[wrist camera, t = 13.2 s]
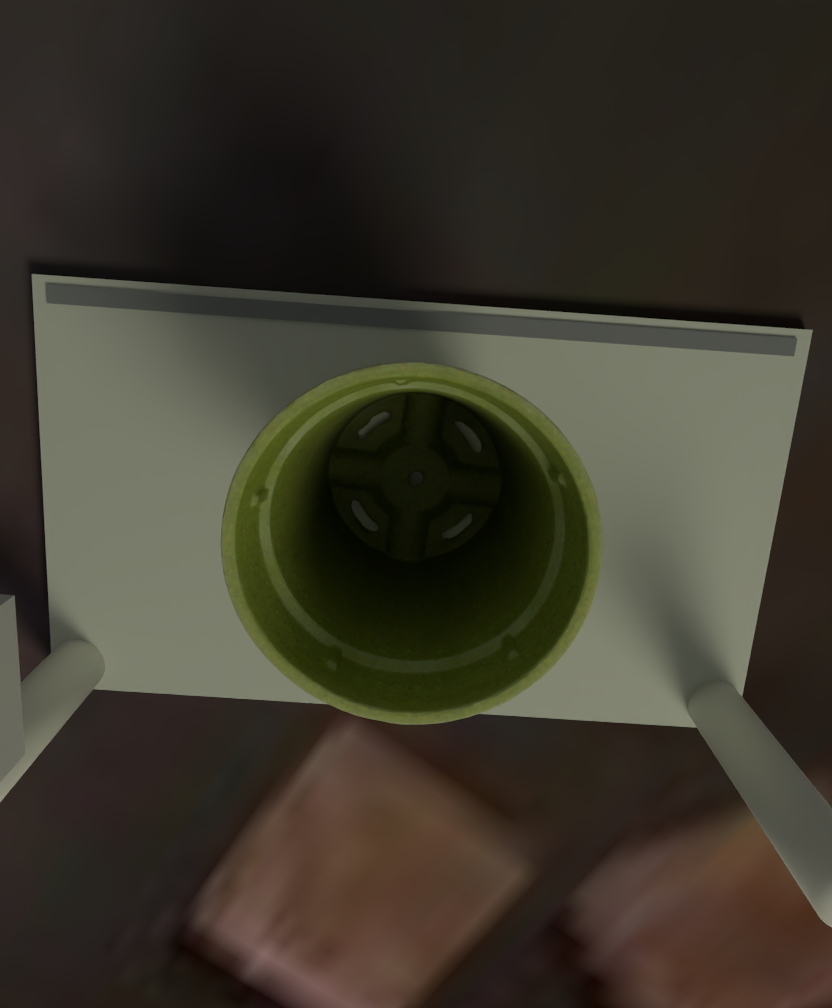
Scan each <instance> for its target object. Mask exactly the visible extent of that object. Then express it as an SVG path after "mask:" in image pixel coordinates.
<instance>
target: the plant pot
mask: <svg viewBox="0 0 832 1008" xmlns="http://www.w3.org/2000/svg"><path fill="white" fill-rule="evenodd" d="M382 412H387V413H389V414H390V419H389V420H387V421H385V422H384V423H382V424H381V425H379V426H378V427H376V428H375V429H374V430H373V431H372V432H370V433H369V434H368V435H367V437H366V438H365V439H364V440H363V439H359V438H358V437H359V436H358V432H359V430H361V429H362V428H364V427H365V426H366V425H368V424H369V422H370V420H371V419H372V418H373V417H374V416H376V415H378V414H380V413H382ZM455 421H457V422H462V423H464V424H465V425H466V426H467V427H469V428H470V429H471V430H472V431H473V432H474V433H475V434H476V436H477V438H478V439H479V441H480V442H481V451H480V452H479V453H475V452H474V451H473V450H472V448H471V446H470V444H469V443H468V441H467V439H466V438H465V437H464V435H463V434H462V433H461V432H460V431H459V430H458V428H457V427H456V426H455V425H454V422H455ZM413 472H420V473H421V474H422V475H423V481H422V483H421V484H420V485H416V486H412V485H411V484H410V483H409V476H410V475H411V474H412V473H413ZM353 500H357V501H359V503H360V505H361V506H362V508H363V509H364V511H365V512H366V514H367V515H368V516H369V517H370V518H371V519H372V520H373V521H374V522H376V524H377V525H378V530H377V531H371V530H369V529H367V528H366V527H364V526H363V525H362V523H361V522H360V520H359V519H358V518H357V517H356V516H355V514H354V512H353V510H352V507H351V504H352V501H353ZM469 513H470V514H472V522H471V523H470V524H469V525H468V526H467V527H466V528H465V529H463V530H462V531H461V532H460V533H459V534H457V535H456V536H454V537H452V538H450V539H449V538H445V539H444V538H443V537H442V536H441V533H442V532H444V531H446V530H447V529H449V528H451V527H453V526H454V525H456V524H457V523H458V522H459V521H461V520H462V519H463V518H464V517H465V516H466V515H467V514H469ZM220 546H221V557H222V566H223V573H224V578H225V583H226V586H227V589H228V593H229V596H230V598H231V601H232V604H233V606H234V609H235V611H236V613H237V616H238V617H239V619H240V621H241V623H242V625H243V627H244V628H245V630H246V632H247V633H248V635H249V636H250V638H251V639H252V641H253V642H254V644H255V645H256V646H257V647H258V648H259V650H260V651H261V652H262V653H263V655H264V656H265V657H266V658H267V659H268V660H269V661H270V662H271V663H272V664H273V665H274V666H275V667H276V668H277V669H278V670H279V671H280V672H281V673H282V674H283V675H284V676H285V677H286V678H288V679H289V680H290V681H291V682H293V683H294V684H295V685H297V686H298V687H299V688H301V689H302V690H304V691H305V692H306V693H308V694H310V695H312V696H313V697H315V698H317V699H319V700H321V701H322V702H325V703H327V704H329V705H331V706H334V707H336V708H338V709H340V710H342V711H346V712H349V713H351V714H354V715H357V716H360V717H364V718H369V719H374V720H379V721H384V722H389V723H395V724H434V723H444V722H449V721H454V720H458V719H462V718H467V717H470V716H473V715H476V714H479V713H482V712H485V711H488V710H491V709H493V708H495V707H497V706H500V705H502V704H504V703H506V702H508V701H510V700H511V699H513V698H514V697H516V696H517V695H519V694H520V693H522V692H523V691H525V690H526V689H528V688H529V687H530V686H532V685H533V684H534V683H535V682H537V681H538V680H540V679H541V678H542V677H543V676H544V675H545V674H546V673H547V672H548V671H549V670H550V669H551V668H552V667H553V666H554V665H555V664H556V663H557V662H558V661H559V660H560V658H561V657H562V656H563V655H564V653H565V652H566V651H567V649H568V648H569V647H570V645H571V644H572V642H573V641H574V639H575V638H576V636H577V634H578V633H579V631H580V629H581V627H582V626H583V624H584V622H585V619H586V617H587V616H588V613H589V611H590V608H591V605H592V603H593V600H594V597H595V592H596V589H597V586H598V582H599V576H600V570H601V563H602V552H603V528H602V520H601V515H600V510H599V506H598V501H597V497H596V494H595V491H594V488H593V486H592V483H591V480H590V478H589V476H588V474H587V472H586V469H585V467H584V465H583V464H582V461H581V459H580V457H579V456H578V454H577V453H576V451H575V450H574V448H573V446H572V445H571V444H570V442H569V441H568V439H567V438H566V437H565V435H564V434H563V433H562V432H561V431H560V429H559V428H558V427H557V426H556V425H555V424H554V423H553V422H552V421H551V420H550V419H549V418H548V417H547V416H546V415H545V414H544V413H543V412H542V411H541V410H540V409H539V408H537V407H536V406H535V405H533V404H532V403H531V402H529V401H528V400H527V399H525V398H524V397H522V396H521V395H519V394H518V393H516V392H515V391H513V390H511V389H510V388H508V387H506V386H504V385H502V384H500V383H498V382H496V381H494V380H492V379H489V378H487V377H485V376H482V375H480V374H477V373H474V372H471V371H468V370H465V369H462V368H457V367H452V366H448V365H442V364H436V363H426V362H394V363H384V364H376V365H370V366H366V367H362V368H358V369H354V370H351V371H348V372H345V373H342V374H340V375H337V376H335V377H332V378H330V379H328V380H326V381H324V382H321V383H319V384H318V385H316V386H314V387H312V388H311V389H309V390H307V391H306V392H304V393H303V394H301V395H300V396H298V397H297V398H295V399H294V400H293V401H292V402H290V403H289V404H288V405H287V406H285V407H284V408H283V409H282V410H281V411H280V412H278V413H277V414H276V415H275V416H274V417H273V418H272V419H271V420H270V421H269V422H268V423H267V424H266V425H265V427H264V428H263V429H262V430H261V431H260V433H259V434H258V435H257V437H256V438H255V439H254V441H253V442H252V443H251V445H250V446H249V448H248V449H247V451H246V453H245V454H244V456H243V458H242V460H241V462H240V463H239V465H238V467H237V469H236V471H235V474H234V476H233V478H232V481H231V484H230V487H229V491H228V494H227V498H226V502H225V507H224V512H223V519H222V526H221V542H220Z"/></svg>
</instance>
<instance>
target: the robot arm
mask: <svg viewBox="0 0 832 1008" xmlns="http://www.w3.org/2000/svg"><path fill="white" fill-rule="evenodd" d="M24 755H25V744H24V729H23V714H22V699H21V684H20V669H19V654H18V639H17V624H16V609H15V595H2V594H0V782H1V781H2V780H3V779H4V778H5V776H6V775H7V774H8V773H9V772H10V771H11V770H12V768H13V767H14V766H15V765H16V764H17V763H18V762H19V761H20V759H21V758H22V757H23V756H24Z"/></svg>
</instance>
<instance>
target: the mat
mask: <svg viewBox="0 0 832 1008" xmlns="http://www.w3.org/2000/svg"><path fill="white" fill-rule="evenodd" d="M32 291H33V311H34V330H35V349H36V369H37V388H38V407H39V427H40V446H41V466H42V485H43V504H44V524H45V543H46V563H47V582H48V601H49V621H50V640H51V654H49V655H48V656H47V657H46V658H45V659H44V660H43V661H42V662H41V663H40V664H39V665H38V666H37V667H36V668H35V669H34V670H33V671H32V672H31V673H30V674H29V675H28V676H27V677H26V678H25V679H24V680H23V681H22V682H21V683H20V684H21V699H22V714H23V729H24V744H25V755H24V756H23V757H22V758H21V759H20V761H19V762H18V763H17V764H16V765H15V766H14V767H13V768H12V770H11V771H10V772H9V773H8V774H7V775H6V776H5V778H4V779H3V780H2V781H1V782H0V802H1V801H2V799H3V798H4V797H5V796H6V795H7V793H8V792H9V791H10V790H11V788H12V787H13V786H14V785H15V784H16V782H17V781H18V780H19V779H20V777H21V776H22V775H23V774H24V773H25V771H26V770H27V769H28V768H29V767H30V765H31V764H32V763H33V762H34V760H35V759H36V758H37V757H38V756H39V754H40V753H41V752H42V751H43V749H44V748H45V747H46V746H47V745H48V743H49V742H50V741H51V740H52V738H53V737H54V736H55V735H56V734H57V732H58V731H59V730H60V729H61V727H62V726H63V725H64V724H65V723H66V721H67V720H68V719H69V718H70V717H71V715H72V714H73V713H74V712H75V710H76V709H77V708H78V707H79V706H80V704H81V703H82V702H83V701H84V699H85V698H86V697H87V696H88V695H89V693H90V692H91V691H92V690H93V689H99V690H115V691H130V692H146V693H162V694H178V695H193V696H209V697H225V698H241V699H256V700H272V701H288V702H303V703H319V704H327V703H325V702H322V701H321V700H319V699H317V698H315V697H313V696H312V695H310V694H308V693H306V692H305V691H304V690H302V689H301V688H299V687H298V686H297V685H295V684H294V683H293V682H291V681H290V680H289V679H288V678H286V677H285V676H284V675H283V674H282V673H281V672H280V671H279V670H278V669H277V668H276V667H275V666H274V665H273V664H272V663H271V662H270V661H269V660H268V659H267V658H266V657H265V656H264V655H263V653H262V652H261V651H260V650H259V648H258V647H257V646H256V645H255V644H254V642H253V641H252V639H251V638H250V636H249V635H248V633H247V632H246V630H245V628H244V627H243V625H242V623H241V621H240V619H239V617H238V616H237V613H236V611H235V609H234V606H233V604H232V601H231V598H230V596H229V593H228V589H227V586H226V583H225V578H224V573H223V566H222V557H221V546H220V542H221V526H222V519H223V512H224V507H225V502H226V498H227V494H228V491H229V487H230V484H231V481H232V478H233V476H234V474H235V471H236V469H237V467H238V465H239V463H240V462H241V460H242V458H243V456H244V454H245V453H246V451H247V449H248V448H249V446H250V445H251V443H252V442H253V441H254V439H255V438H256V437H257V435H258V434H259V433H260V431H261V430H262V429H263V428H264V427H265V425H266V424H267V423H268V422H269V421H270V420H271V419H272V418H273V417H274V416H275V415H276V414H277V413H278V412H280V411H281V410H282V409H283V408H284V407H285V406H287V405H288V404H289V403H290V402H292V401H293V400H294V399H295V398H297V397H298V396H300V395H301V394H303V393H304V392H306V391H307V390H309V389H311V388H312V387H314V386H316V385H318V384H319V383H321V382H324V381H326V380H328V379H330V378H332V377H335V376H337V375H340V374H342V373H345V372H348V371H351V370H354V369H358V368H362V367H366V366H370V365H376V364H384V363H394V362H426V363H436V364H442V365H448V366H452V367H457V368H462V369H465V370H468V371H471V372H474V373H477V374H480V375H482V376H485V377H487V378H489V379H492V380H494V381H496V382H498V383H500V384H502V385H504V386H506V387H508V388H510V389H511V390H513V391H515V392H516V393H518V394H519V395H521V396H522V397H524V398H525V399H527V400H528V401H529V402H531V403H532V404H533V405H535V406H536V407H537V408H539V409H540V410H541V411H542V412H543V413H544V414H545V415H546V416H547V417H548V418H549V419H550V420H551V421H552V422H553V423H554V424H555V425H556V426H557V427H558V428H559V429H560V431H561V432H562V433H563V434H564V435H565V437H566V438H567V439H568V441H569V442H570V444H571V445H572V446H573V448H574V450H575V451H576V453H577V454H578V456H579V457H580V459H581V461H582V464H583V465H584V467H585V469H586V472H587V474H588V476H589V478H590V480H591V483H592V486H593V488H594V491H595V494H596V497H597V501H598V506H599V510H600V515H601V520H602V528H603V552H602V563H601V570H600V576H599V582H598V586H597V589H596V592H595V597H594V600H593V603H592V605H591V608H590V611H589V613H588V616H587V617H586V619H585V622H584V624H583V626H582V627H581V629H580V631H579V633H578V634H577V636H576V638H575V639H574V641H573V642H572V644H571V645H570V647H569V648H568V649H567V651H566V652H565V653H564V655H563V656H562V657H561V658H560V660H559V661H558V662H557V663H556V664H555V665H554V666H553V667H552V668H551V669H550V670H549V671H548V672H547V673H546V674H545V675H544V676H543V677H542V678H541V679H540V680H538V681H537V682H535V683H534V684H533V685H532V686H530V687H529V688H528V689H526V690H525V691H523V692H522V693H520V694H519V695H517V696H516V697H514V698H513V699H511V700H510V701H508V702H506V703H504V704H502V705H500V706H497V707H495V708H493V709H491V710H488V711H485V712H482V713H479V714H492V715H508V716H524V717H540V718H555V719H571V720H587V721H603V722H618V723H634V724H650V725H666V726H681V727H697V728H698V730H699V731H700V733H701V734H702V736H703V738H704V739H705V741H706V742H707V744H708V745H709V747H710V748H711V750H712V751H713V753H714V755H715V756H716V758H717V759H718V761H719V762H720V764H721V765H722V767H723V769H724V770H725V772H726V773H727V775H728V776H729V778H730V779H731V781H732V783H733V784H734V786H735V787H736V789H737V790H738V792H739V793H740V795H741V796H742V798H743V800H744V801H745V803H746V804H747V806H748V807H749V809H750V810H751V812H752V814H753V815H754V817H755V818H756V820H757V821H758V823H759V824H760V826H761V828H762V829H763V831H764V832H765V834H766V835H767V837H768V838H769V840H770V841H771V843H772V845H773V846H774V848H775V849H776V851H777V852H778V854H779V855H780V857H781V859H782V860H783V862H784V863H785V865H786V866H787V868H788V869H789V871H790V872H791V874H792V876H793V877H794V879H795V880H796V882H797V883H798V885H799V886H800V888H801V890H802V891H803V893H804V894H805V896H806V897H807V899H808V900H809V902H810V904H811V905H812V907H813V908H814V910H815V911H816V913H817V914H818V916H819V917H820V919H821V920H822V921H823V922H824V923H826V924H827V925H829V926H831V927H832V808H831V807H830V806H829V804H828V803H827V802H826V801H825V799H824V798H823V797H822V796H821V794H820V793H819V792H818V791H817V789H816V788H815V787H814V786H813V784H812V783H811V782H810V781H809V779H808V778H807V777H806V776H805V774H804V773H803V772H802V771H801V769H800V768H799V767H798V766H797V765H796V763H795V762H794V761H793V760H792V758H791V757H790V756H789V755H788V753H787V752H786V751H785V750H784V748H783V747H782V746H781V745H780V743H779V742H778V741H777V740H776V738H775V737H774V736H773V735H772V733H771V732H770V731H769V730H768V729H767V727H766V726H765V725H764V724H763V722H762V721H761V720H760V719H759V717H758V716H757V715H756V714H755V712H754V711H753V710H752V709H751V707H750V706H749V705H748V704H747V702H746V701H745V700H744V699H743V697H742V695H743V689H744V684H745V679H746V674H747V669H748V663H749V658H750V653H751V648H752V643H753V637H754V632H755V627H756V622H757V617H758V611H759V606H760V601H761V596H762V591H763V585H764V580H765V575H766V570H767V565H768V559H769V554H770V549H771V544H772V539H773V533H774V528H775V523H776V518H777V513H778V507H779V502H780V497H781V492H782V487H783V481H784V476H785V471H786V466H787V461H788V455H789V450H790V445H791V440H792V435H793V429H794V424H795V419H796V414H797V409H798V404H799V398H800V393H801V388H802V383H803V378H804V372H805V367H806V362H807V357H808V352H809V346H810V341H811V336H812V331H813V330H806V329H792V328H778V327H765V326H751V325H737V324H723V323H709V322H695V321H681V320H667V319H653V318H639V317H625V316H611V315H597V314H584V313H570V312H556V311H542V310H528V309H514V308H500V307H486V306H472V305H458V304H444V303H430V302H417V301H403V300H389V299H375V298H361V297H347V296H333V295H319V294H305V293H291V292H277V291H263V290H249V289H236V288H222V287H208V286H194V285H180V284H166V283H152V282H138V281H124V280H110V279H96V278H82V277H68V276H55V275H41V274H32ZM389 419H390V414H389V413H387V412H382V413H380V414H378V415H376V416H374V417H373V418H372V419H371V420H370V422H369V424H368V425H366V426H365V427H364V428H362V429H361V430H359V432H358V436H359V437H358V438H359V439H363V440H364V439H365V438H366V437H367V435H368V434H369V433H370V432H372V431H373V430H374V429H375V428H376V427H378V426H379V425H381V424H382V423H384V422H385V421H387V420H389ZM454 425H455V426H456V427H457V428H458V430H459V431H460V432H461V433H462V434H463V435H464V437H465V438H466V439H467V441H468V443H469V444H470V446H471V448H472V450H473V451H474V452H475V453H479V452H480V451H481V442H480V441H479V439H478V438H477V436H476V434H475V433H474V432H473V431H472V430H471V429H470V428H469V427H467V426H466V425H465V424H464V423H462V422H457V421H455V422H454ZM422 481H423V475H422V474H421V473H420V472H413V473H412V474H411V475H410V476H409V483H410V484H411V485H412V486H416V485H420V484H421V483H422ZM351 507H352V510H353V512H354V514H355V516H356V517H357V518H358V519H359V520H360V522H361V523H362V525H363V526H364V527H366V528H367V529H369V530H371V531H377V530H378V525H377V524H376V522H374V521H373V520H372V519H371V518H370V517H369V516H368V515H367V514H366V512H365V511H364V509H363V508H362V506H361V505H360V503H359V501H357V500H353V501H352V504H351ZM471 522H472V514H470V513H469V514H467V515H466V516H465V517H464V518H463V519H462V520H461V521H459V522H458V523H457V524H456V525H454V526H453V527H451V528H449V529H447V530H446V531H444V532H442V533H441V536H442V537H443V538H444V539H445V538H449V539H450V538H452V537H454V536H456V535H457V534H459V533H460V532H461V531H462V530H463V529H465V528H466V527H467V526H468V525H469V524H470V523H471Z"/></svg>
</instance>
